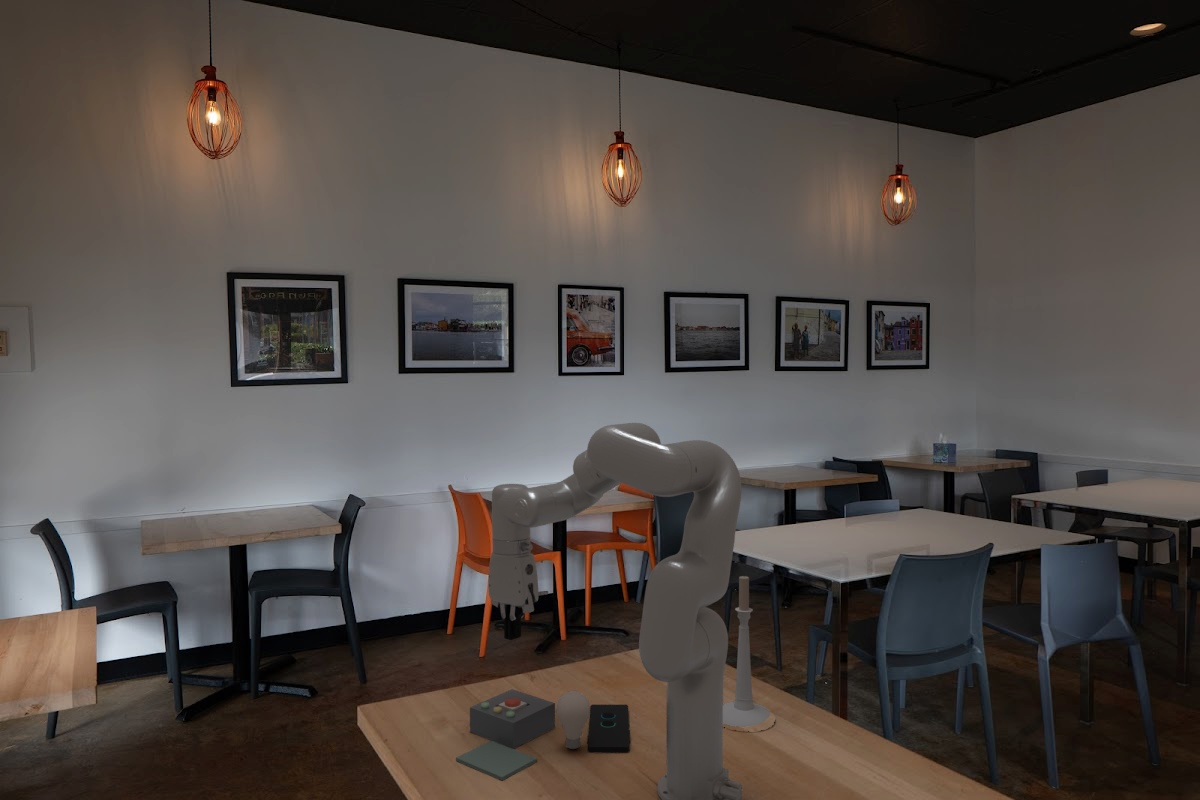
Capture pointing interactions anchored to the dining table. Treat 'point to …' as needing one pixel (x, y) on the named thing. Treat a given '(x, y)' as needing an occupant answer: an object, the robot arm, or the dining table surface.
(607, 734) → the smart home device
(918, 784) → the dining table surface
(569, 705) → the light bulb
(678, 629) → the robot arm
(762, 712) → the candlestick
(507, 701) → the button
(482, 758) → the mat
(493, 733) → the grey button control box
